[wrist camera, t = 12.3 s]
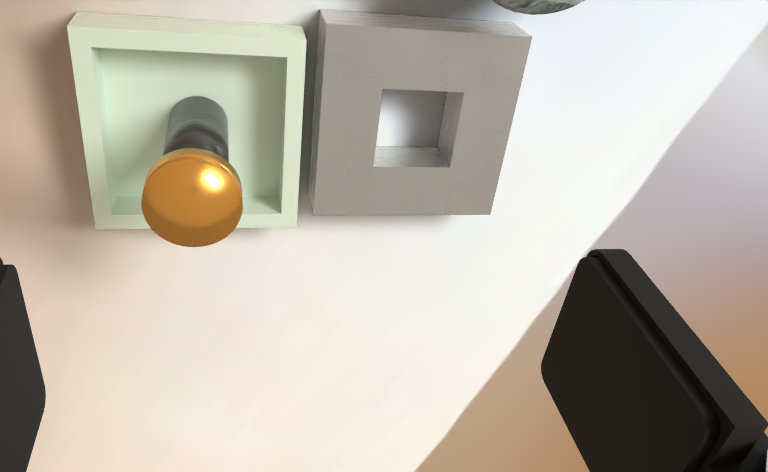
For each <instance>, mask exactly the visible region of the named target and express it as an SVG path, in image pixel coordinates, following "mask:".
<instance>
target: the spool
mask: <svg viewBox="0 0 768 472" xmlns="http://www.w3.org/2000/svg"><path fill="white" fill-rule="evenodd" d="M493 1H494V2H496V3H497V4H499V5H500V6H502V7H504V8H506V9H508V10H511V11H514V12H519V13H524V14H531V15H534V14H548V13H555V12H558V11H562V10H565V9H568V8H571V7H573V6H575V5H577V4H579V3H581V2H583V1H584V0H493Z"/></svg>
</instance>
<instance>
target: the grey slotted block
mask: <svg viewBox="0 0 768 472" xmlns="http://www.w3.org/2000/svg"><path fill="white" fill-rule="evenodd" d="M531 39H532V36H530V35H529V34H528V33H526V32H525V31H524V30H522V29H521V28H519V27H518V26H517V25H515V24H514V23H509V22H494V21H480V20H466V19H451V18H437V17H422V16H408V15H394V14H379V13H365V12H351V11H336V10H322V9H320V15H319V31H318V47H317V63H316V79H315V95H314V111H313V127H312V143H311V159H310V175H309V191H308V193H309V197H310V202H311V206H312V211H313V215H314V216H315V215H490V213H491V209H492V205H493V201H494V196H495V192H496V188H497V184H498V179H499V175H500V171H501V167H502V162H503V158H504V154H505V150H506V145H507V141H508V137H509V133H510V129H511V124H512V120H513V116H514V112H515V107H516V103H517V99H518V95H519V90H520V86H521V82H522V78H523V73H524V69H525V65H526V61H527V56H528V52H529V48H530V44H531ZM383 89H396V90H420V91H444V92H447V94H446V100H445V106H444V112H443V117H442V123H441V129H440V134H439V140H438V146H437V147H392V146H376V140H377V132H378V123H379V115H380V107H381V98H382V90H383Z"/></svg>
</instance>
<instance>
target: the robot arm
mask: <svg viewBox="0 0 768 472" xmlns="http://www.w3.org/2000/svg"><path fill="white" fill-rule="evenodd" d="M541 373H542V377H543V380H544V382H545V384H546V386H547V388H548V390H549V392H550V394H551V396H552V398H553V400H554V402H555V404H556V406H557V408H558V410H559V412H560V414H561V416H562V418H563V420H564V422H565V424H566V426H567V428H568V430H569V432H570V433H571V435H572V437H573V439H574V441H575V443H576V445H577V447H578V449H579V451H580V453H581V455H582V457H583V459H584V461H585V463H586V464H587V467H588V469H589V471H590V472H768V437H767V436H766V434H765V433H764V431H765V429H766V427H767V426H768V422H767V421H766V420H765V418H764V417H763V416H762V415H761V414H760V412H759V411H758V410H757V409H756V408H755V406H754V405H753V404H752V403H751V401H750V400H749V399H748V398H747V397H746V395H745V394H744V393H743V392H742V390H741V389H740V388H739V387H738V385H737V384H736V383H735V382H734V381H733V379H732V378H731V377H730V376H729V375H728V373H727V372H726V371H725V370H724V368H723V367H722V366H721V365H720V364H719V362H718V361H717V360H716V359H715V358H714V356H713V355H712V354H711V353H710V351H709V350H708V349H707V348H706V347H705V345H704V344H703V343H702V342H701V340H700V339H699V338H698V337H697V336H696V334H695V333H694V332H693V331H692V329H691V328H690V327H689V326H688V325H687V323H686V322H685V321H684V320H683V318H682V317H681V316H680V315H679V314H678V312H676V310H675V309H674V307H673V306H672V305H671V304H670V303H669V301H668V300H667V299H666V298H665V296H664V295H663V294H662V293H661V292H660V290H659V289H658V288H657V287H656V286H655V284H654V283H653V282H652V281H651V279H650V278H649V277H648V276H647V275H646V273H645V272H644V271H643V270H642V268H641V267H640V266H639V265H638V264H637V262H636V261H635V260H634V259H633V258H632V256H631V255H630V254H629V253H628V252H627V251H626V250H623V249H596V250H591V251H590V252H589V253H588V255H587V257H585V258H582V259H581V260H580V261H579V263H578V265H577V268H576V271H575V274H574V276H573V279H572V282H571V284H570V287H569V289H568V292H567V295H566V298H565V300H564V303H563V306H562V308H561V311H560V314H559V316H558V319H557V322H556V325H555V327H554V330H553V333H552V335H551V338H550V341H549V343H548V346H547V349H546V351H545V354H544V357H543V360H542V364H541ZM45 397H46V393H45V385H44V381H43V377H42V373H41V368H40V364H39V360H38V356H37V352H36V348H35V344H34V339H33V335H32V331H31V327H30V323H29V319H28V315H27V310H26V306H25V302H24V298H23V294H22V290H21V286H20V281H19V277H18V273H17V270H16V268H15V266H14V265H3V262H2V260H1V258H0V472H26V470H27V467H28V463H29V460H30V456H31V453H32V449H33V446H34V443H35V439H36V436H37V432H38V429H39V426H40V422H41V419H42V415H43V412H44V407H45Z"/></svg>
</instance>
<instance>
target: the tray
mask: <svg viewBox="0 0 768 472" xmlns="http://www.w3.org/2000/svg"><path fill="white" fill-rule="evenodd" d="M67 31H68V38H69V45H70V52H71V59H72V67H73V74H74V81H75V88H76V95H77V102H78V109H79V116H80V124H81V131H82V138H83V145H84V152H85V159H86V166H87V174H88V181H89V188H90V195H91V202H92V209H93V216H94V223H95V229H151V228H150V226H149V225H148V223H147V222H146V220H145V218H144V215H143V212H142V207H141V199H142V193H143V188H144V183H145V179H146V176H147V173H148V171H149V169H150V168H151V167H152V165H153V164H154V163H155V162H156V161H157V160H158V159H159V158H161V157H162V156H163V151H164V146H165V140H166V134H167V128H168V122H169V116H170V112H171V110H172V108H173V107H174V106H175V105H176V104H177V103H178V102H179V101H181V100H182V99H184V98H187V97H191V96H202V97H206V98H209V99H211V100H213V101H215V102H216V103H218V104H219V105H220V106H221V107H222V109H223V110H224V112H225V114H226V116H227V120H228V144H229V163H230V164H231V165H232V166H233V168H234V169H235V170H236V172H237V174H238V176H239V178H240V181H241V185H242V199H243V211H242V215H241V218H240V221H239V223H238V225H237V226H236V228H283V227H297V213H298V194H299V175H300V156H301V137H302V119H303V100H304V81H305V62H306V43H307V40H306V37H305V34H304V31H303V29H302V26H295V25H279V24H264V23H248V22H232V21H216V20H200V19H184V18H169V17H153V16H137V15H121V14H105V13H89V12H77V13H76V14H75V15H74V17H73V18H72V20H71V21H70V22H69V24H68V25H67Z"/></svg>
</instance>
